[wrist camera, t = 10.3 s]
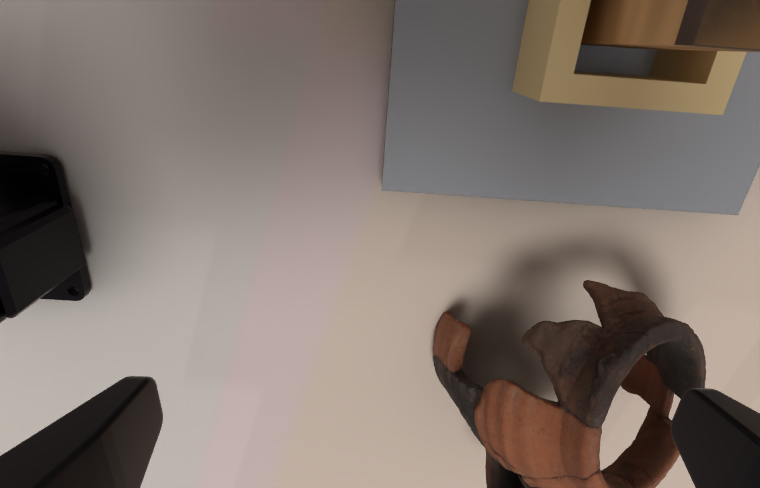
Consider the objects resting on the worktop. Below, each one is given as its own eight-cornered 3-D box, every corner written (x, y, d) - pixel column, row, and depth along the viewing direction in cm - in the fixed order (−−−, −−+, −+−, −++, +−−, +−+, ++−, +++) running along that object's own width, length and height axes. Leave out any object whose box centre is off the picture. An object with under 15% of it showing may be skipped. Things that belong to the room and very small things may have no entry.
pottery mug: (430, 249, 20) (593, 308, 13) (571, 250, 24) (748, 295, 17) (399, 487, 22) (525, 653, 15) (535, 447, 26) (681, 559, 19)
